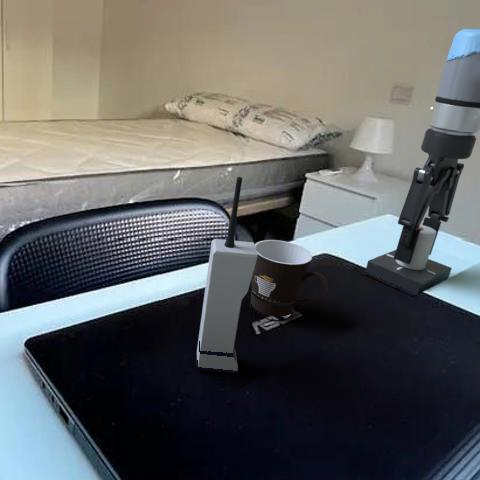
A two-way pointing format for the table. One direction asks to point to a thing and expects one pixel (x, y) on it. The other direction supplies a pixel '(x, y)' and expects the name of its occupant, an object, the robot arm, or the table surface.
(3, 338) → the table surface
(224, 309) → the vintage mobile phone
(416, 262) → the timer knob
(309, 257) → the coffee mug
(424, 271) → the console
